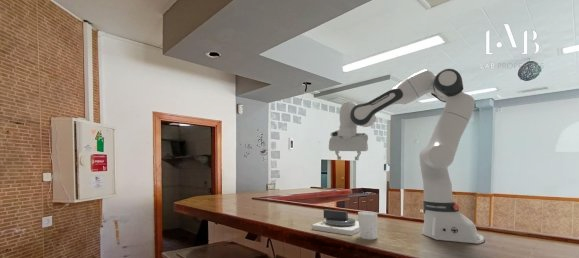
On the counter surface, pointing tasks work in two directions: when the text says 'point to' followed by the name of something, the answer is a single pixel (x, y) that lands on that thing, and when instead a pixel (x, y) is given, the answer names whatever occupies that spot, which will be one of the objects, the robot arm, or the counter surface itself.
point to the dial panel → (337, 228)
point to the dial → (338, 218)
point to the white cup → (367, 224)
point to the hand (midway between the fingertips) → (347, 160)
